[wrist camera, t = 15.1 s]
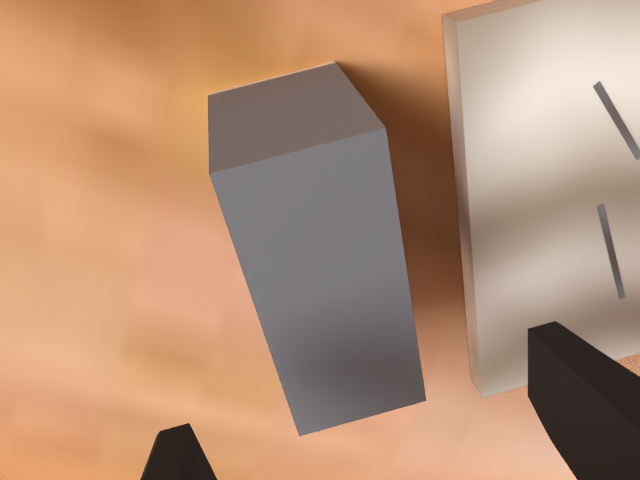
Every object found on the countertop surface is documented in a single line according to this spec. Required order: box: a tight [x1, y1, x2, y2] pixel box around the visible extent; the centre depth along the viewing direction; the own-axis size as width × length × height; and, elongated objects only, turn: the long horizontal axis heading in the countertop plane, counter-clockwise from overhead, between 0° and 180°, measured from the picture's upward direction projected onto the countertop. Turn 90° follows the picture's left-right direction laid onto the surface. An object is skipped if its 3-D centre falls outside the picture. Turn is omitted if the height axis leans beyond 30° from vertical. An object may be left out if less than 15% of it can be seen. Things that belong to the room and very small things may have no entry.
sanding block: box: [208, 61, 426, 436], centre depth 18 cm, size 9×4×6 cm, turn 12°
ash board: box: [442, 0, 640, 398], centre depth 21 cm, size 16×13×1 cm
